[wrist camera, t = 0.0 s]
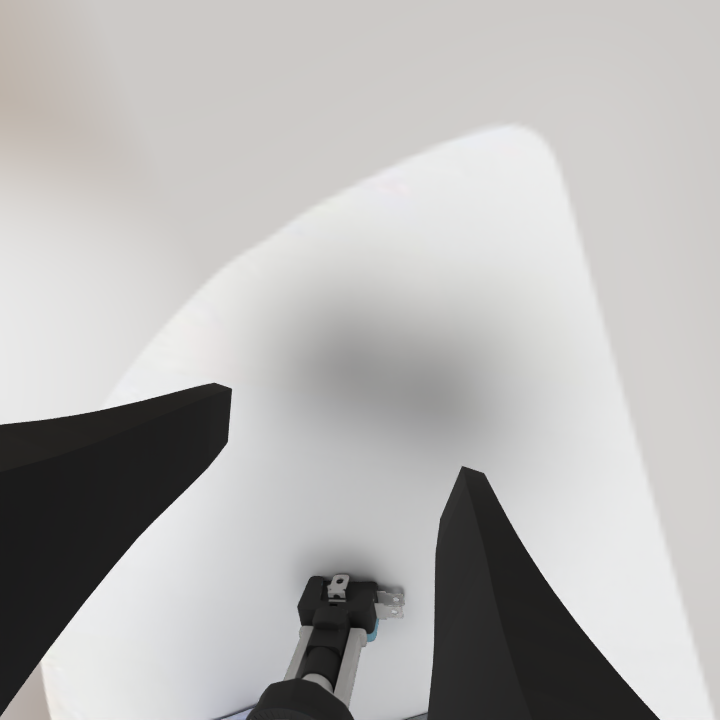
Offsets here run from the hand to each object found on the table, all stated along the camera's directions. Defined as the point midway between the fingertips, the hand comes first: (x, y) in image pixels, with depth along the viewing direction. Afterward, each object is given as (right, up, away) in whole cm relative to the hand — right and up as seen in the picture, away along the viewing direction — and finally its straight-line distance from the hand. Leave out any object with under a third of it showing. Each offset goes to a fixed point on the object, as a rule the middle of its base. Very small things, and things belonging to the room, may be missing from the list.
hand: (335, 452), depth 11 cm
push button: (+1, -13, +14) cm, 19 cm away
